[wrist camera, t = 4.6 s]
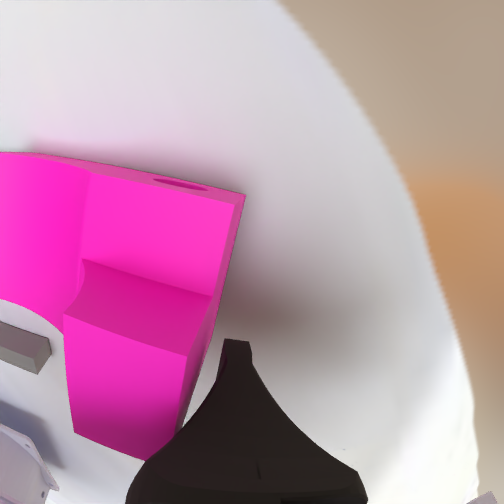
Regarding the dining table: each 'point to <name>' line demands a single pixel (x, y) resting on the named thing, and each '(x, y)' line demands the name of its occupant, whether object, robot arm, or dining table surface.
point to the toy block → (118, 285)
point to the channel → (23, 348)
